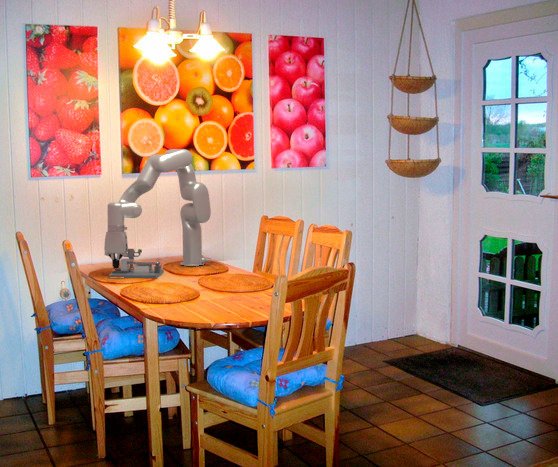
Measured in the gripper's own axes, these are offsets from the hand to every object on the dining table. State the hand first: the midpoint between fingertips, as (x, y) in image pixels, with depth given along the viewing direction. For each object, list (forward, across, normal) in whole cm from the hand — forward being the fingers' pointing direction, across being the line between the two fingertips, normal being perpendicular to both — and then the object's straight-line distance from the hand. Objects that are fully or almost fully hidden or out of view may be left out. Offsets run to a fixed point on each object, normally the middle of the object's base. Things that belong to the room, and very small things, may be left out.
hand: (116, 268), depth 322 cm
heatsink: (+2, -13, 0) cm, 13 cm away
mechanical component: (+3, -2, -17) cm, 18 cm away
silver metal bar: (-2, -13, 0) cm, 13 cm away
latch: (+2, -5, 0) cm, 6 cm away
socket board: (+3, -10, 0) cm, 10 cm away
